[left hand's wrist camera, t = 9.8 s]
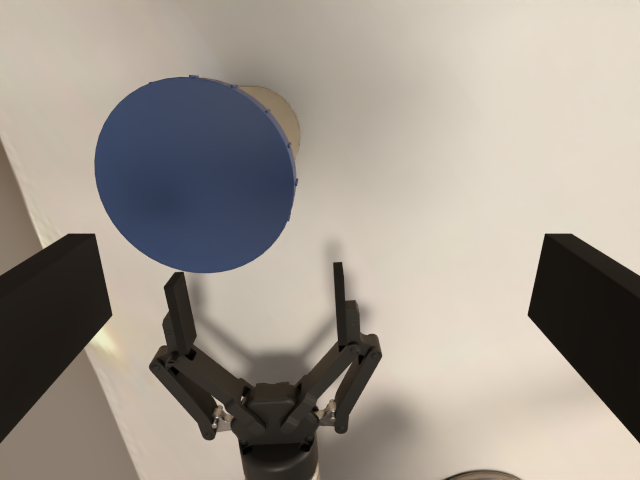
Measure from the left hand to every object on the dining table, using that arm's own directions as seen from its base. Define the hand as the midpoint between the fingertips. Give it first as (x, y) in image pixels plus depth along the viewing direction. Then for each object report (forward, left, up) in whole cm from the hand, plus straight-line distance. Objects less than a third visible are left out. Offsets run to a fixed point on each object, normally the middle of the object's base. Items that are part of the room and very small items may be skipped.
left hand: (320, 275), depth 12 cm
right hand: (+8, -7, -19) cm, 22 cm away
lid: (-2, -5, -8) cm, 10 cm away
